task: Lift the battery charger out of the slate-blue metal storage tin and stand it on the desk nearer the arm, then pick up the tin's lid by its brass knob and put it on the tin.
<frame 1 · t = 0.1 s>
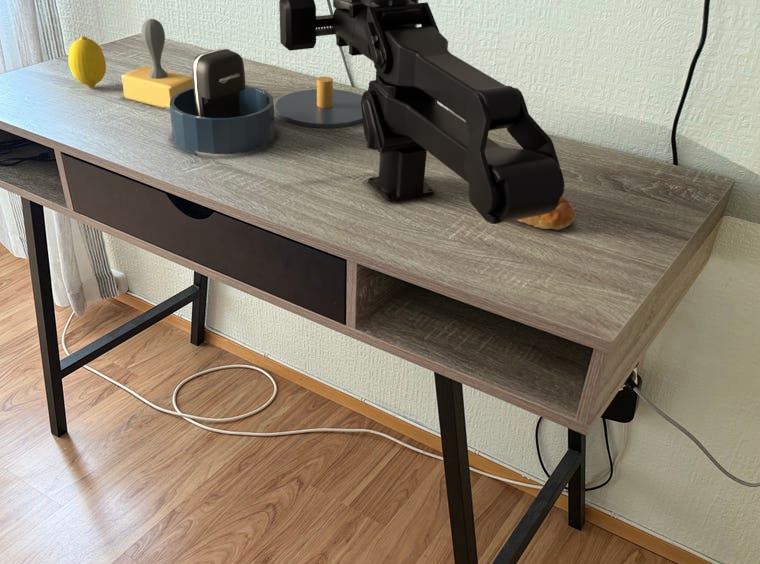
hand: (325, 2, 113), 17 cm above the table, tool horizontal, fingers open, 9 cm apart
rubber stamp: (160, 101, 128), on the table
lemon: (91, 89, 131), on the table
tin: (224, 137, 116), on the table
battery charger: (224, 136, 116), resting on tin
tin lid: (324, 109, 124), point 1 cm above the table
pastry: (532, 215, 100), on the table
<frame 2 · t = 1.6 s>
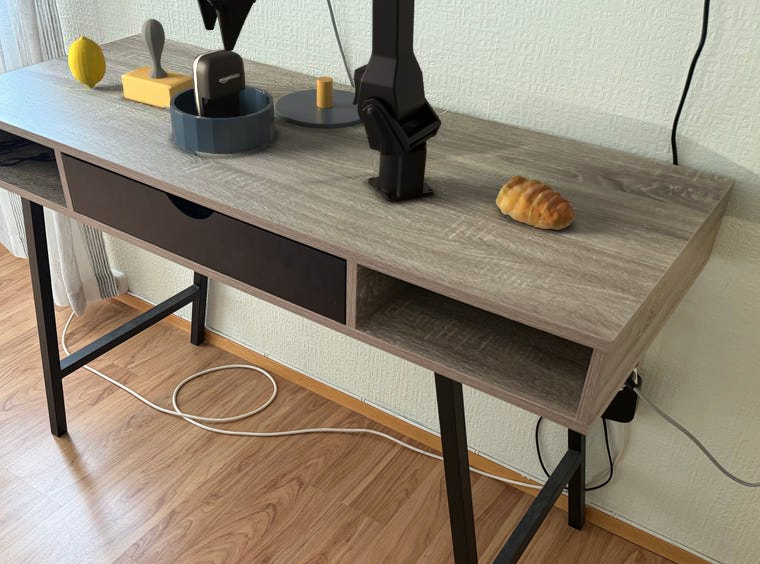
hand: (218, 39, 108), 13 cm above the table, tool pointing down, fingers open, 9 cm apart
nothing on the table moved.
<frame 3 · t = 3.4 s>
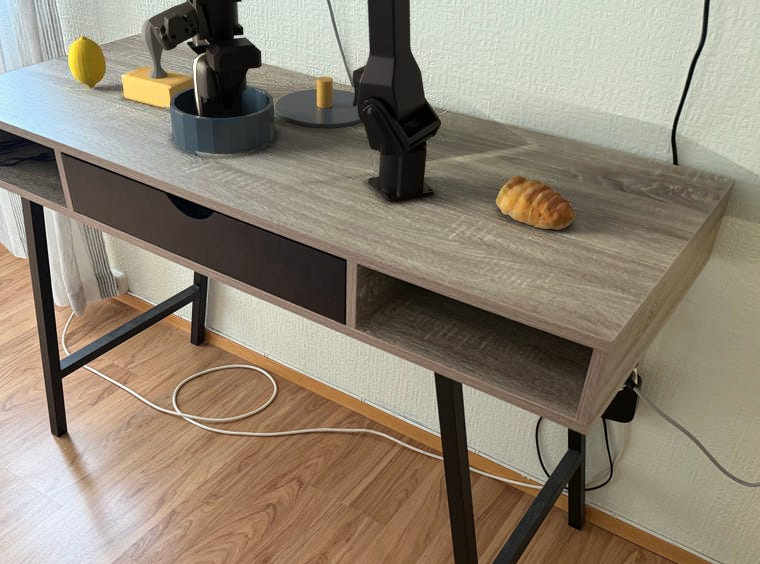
hand: (222, 103, 113), 5 cm above the table, tool pointing down, fingers closed on battery charger, 4 cm apart
battery charger: (225, 136, 116), resting on tin, touching gripper
everything else where it was.
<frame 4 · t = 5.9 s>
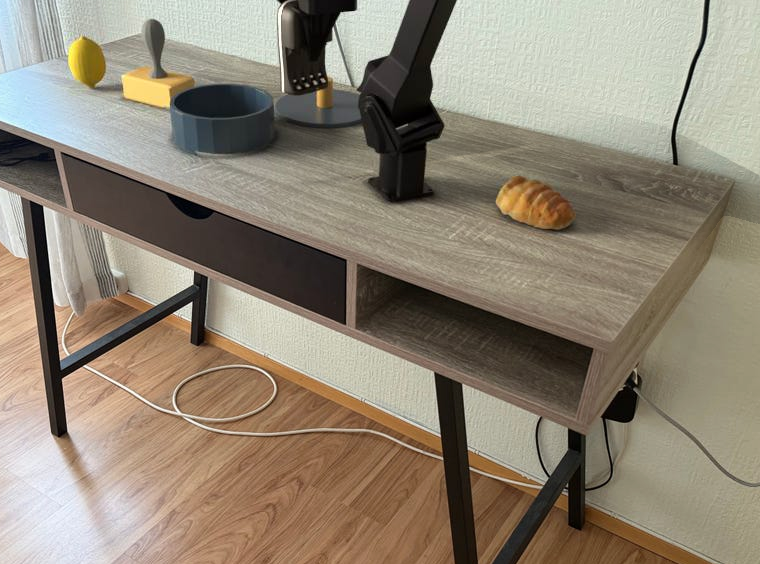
hand: (306, 55, 106), 13 cm above the table, tool pointing down, fingers closed on battery charger, 4 cm apart
battery charger: (307, 92, 109), point 8 cm above the table, touching gripper
everything else where it was.
when the fingers open (5 cm above the table, at t = 8.5 s): battery charger stays where it is, on the table.
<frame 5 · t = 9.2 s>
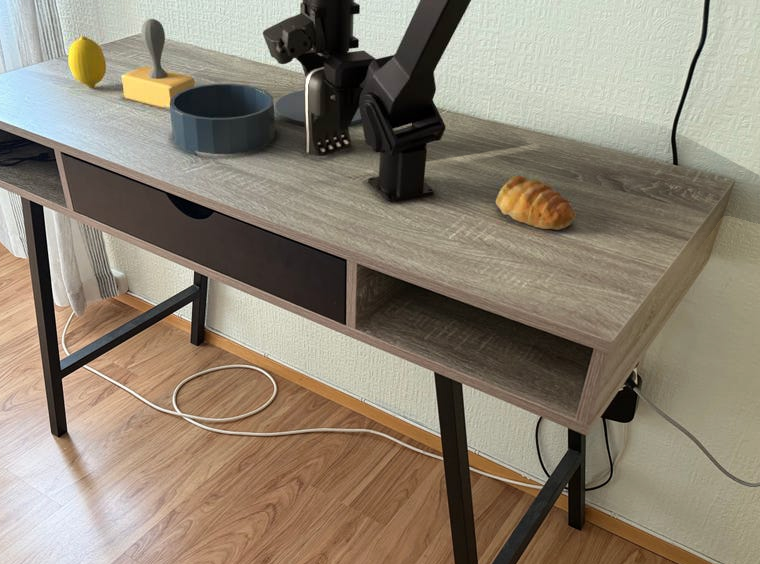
hand: (329, 117, 110), 5 cm above the table, tool pointing down, fingers open, 9 cm apart
battery charger: (331, 153, 113), on the table
everything else where it was.
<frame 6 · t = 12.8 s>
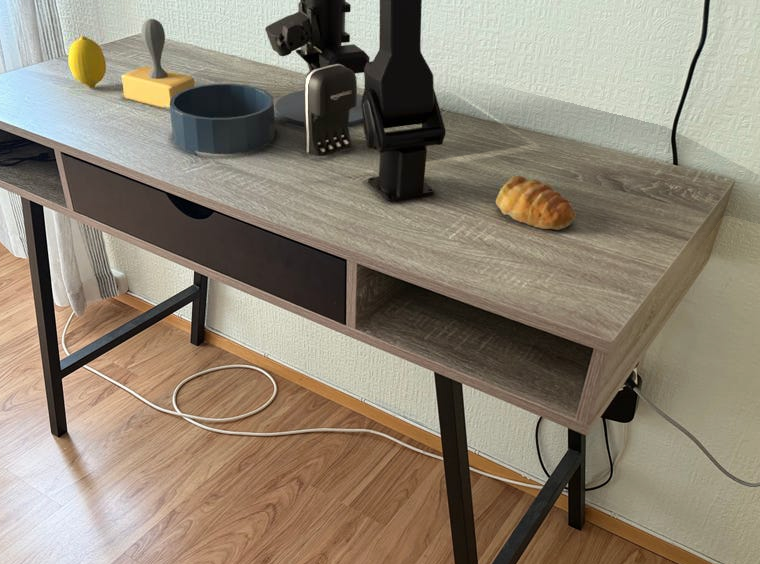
hand: (324, 104, 124), 1 cm above the table, tool pointing down, fingers closed on tin lid, 2 cm apart
tin lid: (324, 109, 124), point 1 cm above the table, touching gripper
everything else where it was.
when the fingers open (6 cm above the table, at t = 17.9 s): tin lid stays where it is, resting on tin.
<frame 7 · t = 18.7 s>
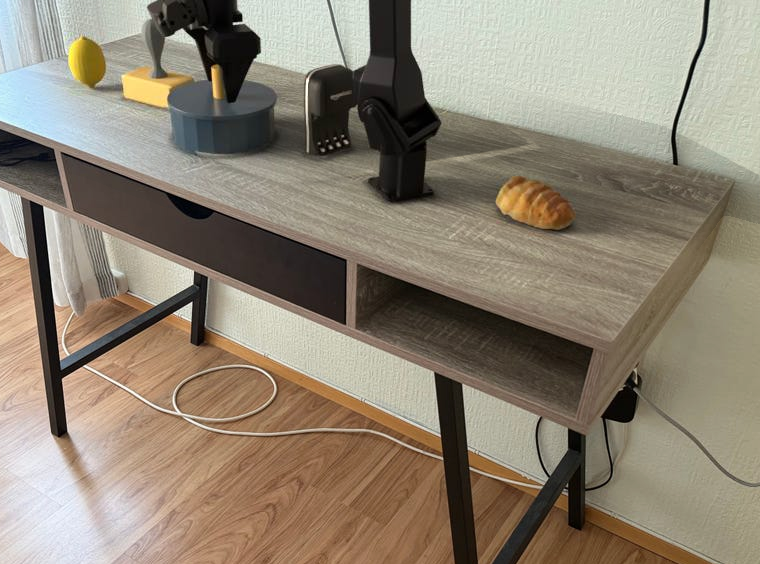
hand: (221, 91, 112), 7 cm above the table, tool pointing down, fingers open, 9 cm apart
tin lid: (222, 100, 113), point 5 cm above the table, touching tin
everything else where it was.
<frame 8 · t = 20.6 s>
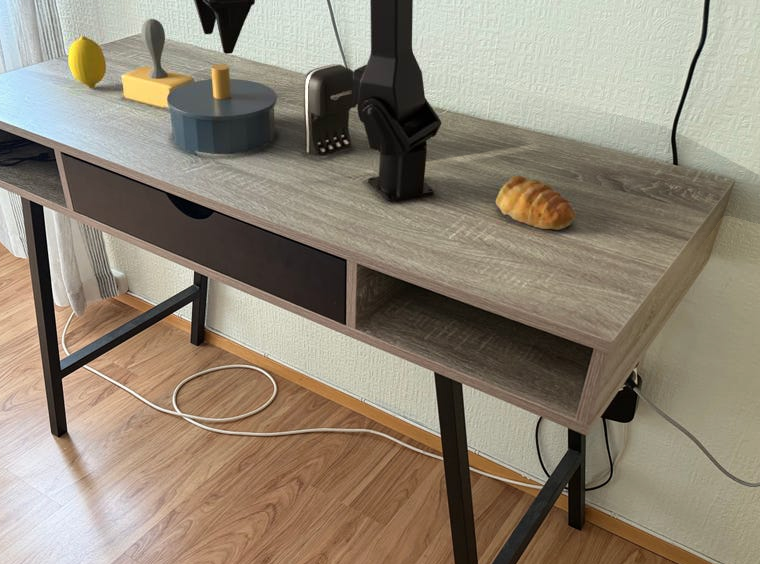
hand: (217, 43, 108), 13 cm above the table, tool pointing down, fingers open, 9 cm apart
nothing on the table moved.
at the end: battery charger inside the target area (0.3 cm from its centre), on the table; tin lid 0.1 cm off-centre on the tin, point 5.3 cm above the tin's base; tin lid tilted 0° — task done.
